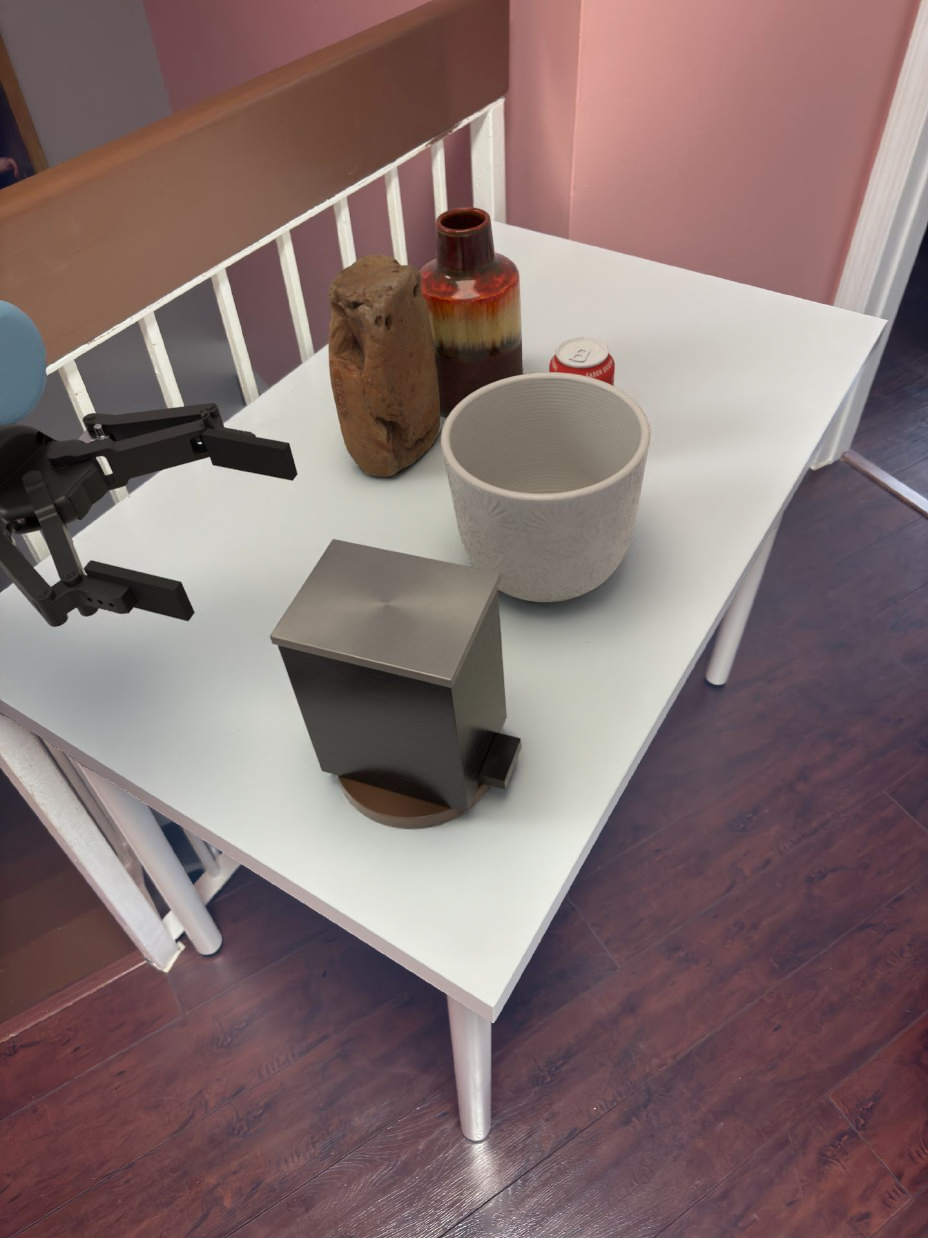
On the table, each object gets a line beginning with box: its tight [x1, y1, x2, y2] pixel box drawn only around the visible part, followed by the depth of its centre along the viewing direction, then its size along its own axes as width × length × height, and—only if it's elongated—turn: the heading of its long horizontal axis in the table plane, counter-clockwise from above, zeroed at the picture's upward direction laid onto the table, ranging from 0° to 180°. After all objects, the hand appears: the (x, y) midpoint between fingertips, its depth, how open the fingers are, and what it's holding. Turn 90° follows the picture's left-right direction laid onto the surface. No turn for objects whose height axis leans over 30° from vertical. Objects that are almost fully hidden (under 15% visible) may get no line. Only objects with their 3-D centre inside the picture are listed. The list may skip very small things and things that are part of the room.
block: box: [327, 253, 441, 478], centre depth 91 cm, size 11×8×20 cm
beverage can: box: [548, 336, 616, 387], centre depth 91 cm, size 6×6×12 cm
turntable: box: [336, 775, 491, 829], centre depth 71 cm, size 13×13×2 cm
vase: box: [419, 206, 524, 419], centre depth 97 cm, size 11×11×20 cm
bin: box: [269, 538, 522, 814], centre depth 65 cm, size 9×14×16 cm, turn 70°
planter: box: [440, 371, 651, 603], centre depth 80 cm, size 17×17×15 cm
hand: (242, 527), depth 58 cm, fingers open, 13 cm apart
